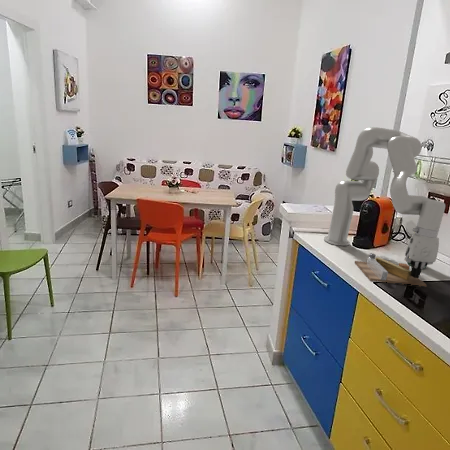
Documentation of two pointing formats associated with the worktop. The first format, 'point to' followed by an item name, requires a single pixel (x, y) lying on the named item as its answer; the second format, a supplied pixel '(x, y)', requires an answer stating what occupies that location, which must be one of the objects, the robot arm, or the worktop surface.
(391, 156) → the robot arm
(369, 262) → the tongs base
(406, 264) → the lock tab
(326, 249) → the worktop surface
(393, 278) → the board
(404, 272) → the tong jaw
